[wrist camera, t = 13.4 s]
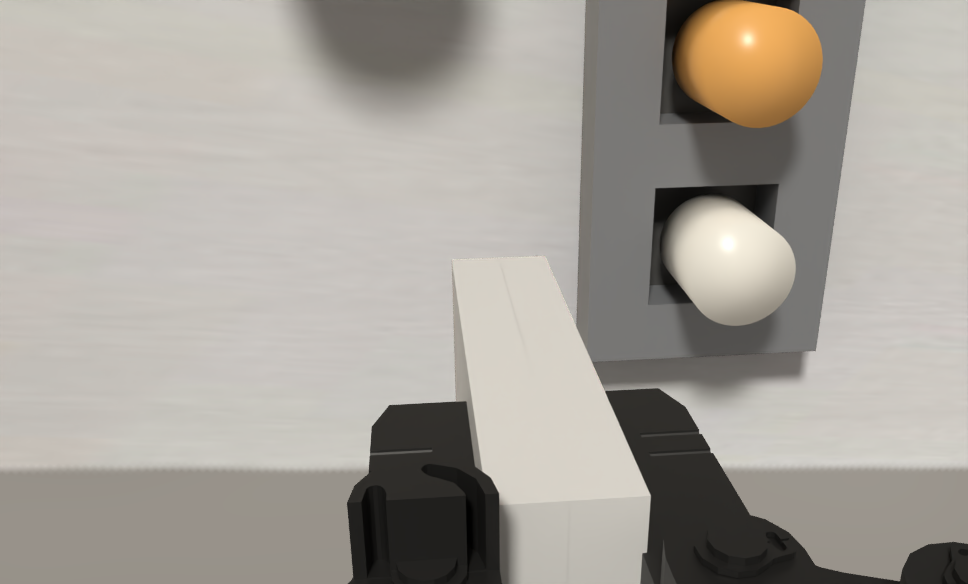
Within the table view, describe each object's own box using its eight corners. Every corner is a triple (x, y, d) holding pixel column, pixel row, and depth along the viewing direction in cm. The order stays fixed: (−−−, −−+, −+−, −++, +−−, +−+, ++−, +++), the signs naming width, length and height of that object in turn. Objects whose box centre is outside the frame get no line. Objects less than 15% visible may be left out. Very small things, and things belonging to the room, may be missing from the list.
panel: (576, 337, 47) (586, 362, 45) (595, -325, 36) (611, -346, 33) (792, 327, 48) (815, 351, 45) (876, -322, 37) (914, -344, 34)
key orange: (668, 108, 41) (702, 129, 36) (675, -1, 39) (711, 7, 34) (768, 105, 41) (814, 126, 36) (780, -3, 39) (830, 5, 35)
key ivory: (656, 287, 44) (685, 328, 40) (662, 195, 42) (693, 226, 38) (749, 283, 45) (789, 323, 40) (759, 191, 43) (802, 222, 38)
